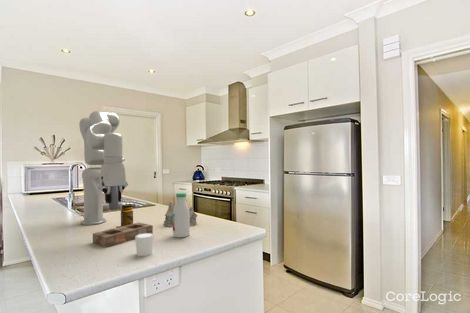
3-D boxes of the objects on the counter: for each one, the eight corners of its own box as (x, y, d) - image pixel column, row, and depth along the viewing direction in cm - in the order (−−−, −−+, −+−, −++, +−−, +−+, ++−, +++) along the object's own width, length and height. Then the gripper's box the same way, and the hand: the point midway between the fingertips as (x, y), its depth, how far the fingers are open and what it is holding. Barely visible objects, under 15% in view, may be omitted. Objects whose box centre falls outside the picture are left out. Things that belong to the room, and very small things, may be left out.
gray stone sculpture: (159, 224, 142) (161, 197, 142) (185, 220, 154) (186, 195, 153) (174, 231, 131) (176, 202, 131) (200, 226, 142) (202, 199, 142)
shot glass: (138, 250, 102) (138, 233, 102) (155, 249, 102) (155, 232, 102) (132, 257, 95) (132, 238, 95) (151, 256, 96) (151, 237, 96)
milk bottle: (192, 233, 124) (192, 192, 124) (184, 238, 116) (184, 194, 117) (178, 232, 126) (178, 191, 126) (169, 237, 119) (169, 194, 119)
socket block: (92, 242, 112) (92, 233, 112) (138, 230, 131) (138, 222, 131) (106, 247, 105) (106, 237, 105) (153, 233, 124) (153, 225, 124)
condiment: (135, 227, 136) (135, 205, 136) (117, 230, 131) (117, 206, 131) (132, 224, 142) (132, 203, 142) (115, 227, 137) (115, 204, 137)
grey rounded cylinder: (106, 209, 113) (106, 182, 113) (115, 207, 117) (115, 181, 117) (111, 210, 111) (111, 182, 111) (120, 208, 114) (120, 182, 115)
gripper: (125, 160, 123) (125, 198, 123) (89, 161, 109) (89, 204, 109) (134, 160, 119) (135, 200, 119) (98, 161, 105) (99, 205, 105)
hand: (113, 201), depth 114 cm, fingers closed on grey rounded cylinder, 4 cm apart
